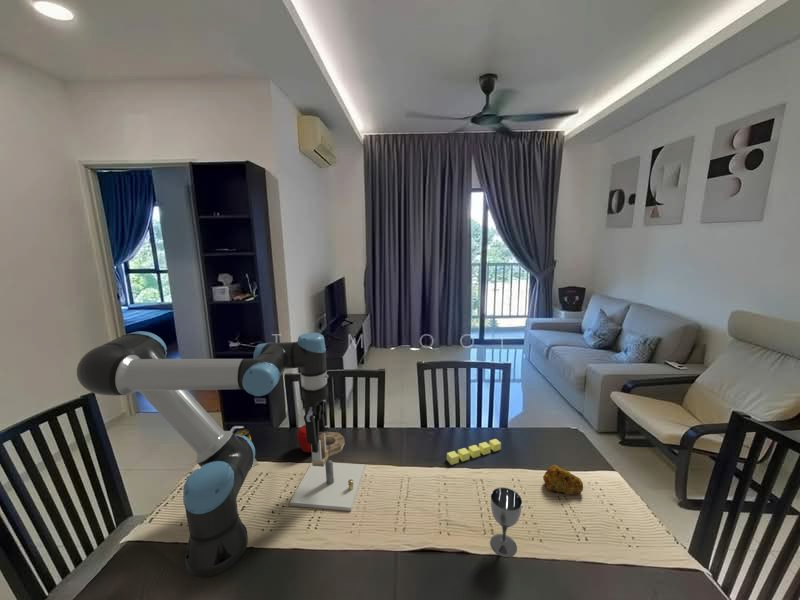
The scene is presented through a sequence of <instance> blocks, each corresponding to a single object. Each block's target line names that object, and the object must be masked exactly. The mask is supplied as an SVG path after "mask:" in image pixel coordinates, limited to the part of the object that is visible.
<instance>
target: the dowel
mask: <svg viewBox="0 0 800 600" xmlns="http://www.w3.org/2000/svg"><path fill="white" fill-rule="evenodd" d="M348 485H349V490H353V480H352V479H350V480H349V481H348Z"/></svg>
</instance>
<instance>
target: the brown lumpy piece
mask: <svg viewBox="0 0 800 600" xmlns="http://www.w3.org/2000/svg"><path fill="white" fill-rule="evenodd" d="M542 477H543V482H544V485H545V487H546V489H547V490H548V491H552V490H553V491H554V492H558V493H564V494H565V495H570V496H571V495H573V494H581V493H582V492H583V490H584V484H583V481H582V480H581V478H580V477H578V476H576V475H574V474H573V473H572V472H570V471H568V470H566V469H564V468H561V467H560V466H558V465H557V464H552V465H550V466H549V468H548V469H547V470H546V471H545V473H544V475H543V476H542Z"/></svg>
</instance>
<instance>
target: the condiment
mask: <svg viewBox="0 0 800 600" xmlns="http://www.w3.org/2000/svg"><path fill="white" fill-rule="evenodd" d="M234 434H239V435H240V436H245V437H247V438H248V439H250V440H251V442H252V443H253V441H252V437H251V434H250V431H249V430H248V429H240V430H237V431H235V433H234ZM253 462H254V463H253V466H252V467H255V466H257V465H259V462H258V461H257V459H256V457H255V458H254V461H253Z"/></svg>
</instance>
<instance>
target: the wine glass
mask: <svg viewBox="0 0 800 600" xmlns="http://www.w3.org/2000/svg"><path fill="white" fill-rule="evenodd" d="M522 506H523V500H522V498H521V496H520V494H519V493H518V492H517V491H515V490H514V489H511V488H507V487H497V488H494V490H492V491H491V493H490V509H491V513H492V517H493V518H494V520H495V522H497V524H499V526H501V530H502V531H501V532H502V533H496V534H494V535H493V536H492V537H490V543H489V544H490V547H491V549H492V550H493V552H495V554H497V555H498V556H500V557H502V558H503V557H504V558H511V557H514V556H515V555H516V554H517V552H518V545H517V543H516V541H515V540H514V539H513V538H512V537H511V536H509V535H507V530H508V529H509V528H511V527H514V526H515V525H516V524H517V523H518V522H519V519H520V517H521V513H522V508H523V507H522Z"/></svg>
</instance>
